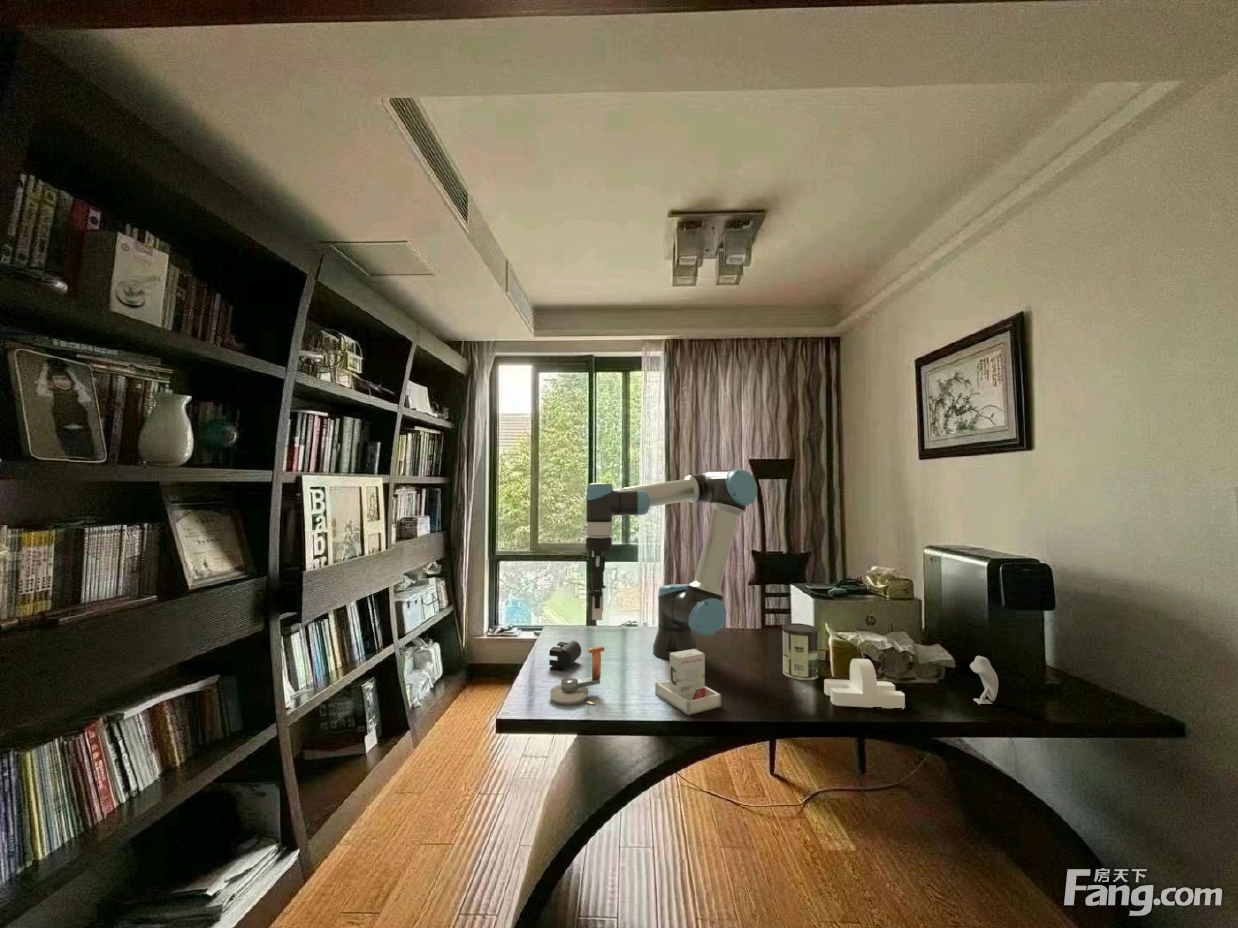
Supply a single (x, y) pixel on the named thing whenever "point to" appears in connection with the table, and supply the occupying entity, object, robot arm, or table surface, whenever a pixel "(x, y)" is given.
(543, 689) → the table surface
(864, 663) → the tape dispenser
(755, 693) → the table surface
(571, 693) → the crank housing
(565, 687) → the crank
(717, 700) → the tray
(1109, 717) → the table surface
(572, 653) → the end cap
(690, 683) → the ink box
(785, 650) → the coffee can
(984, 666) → the figurine
